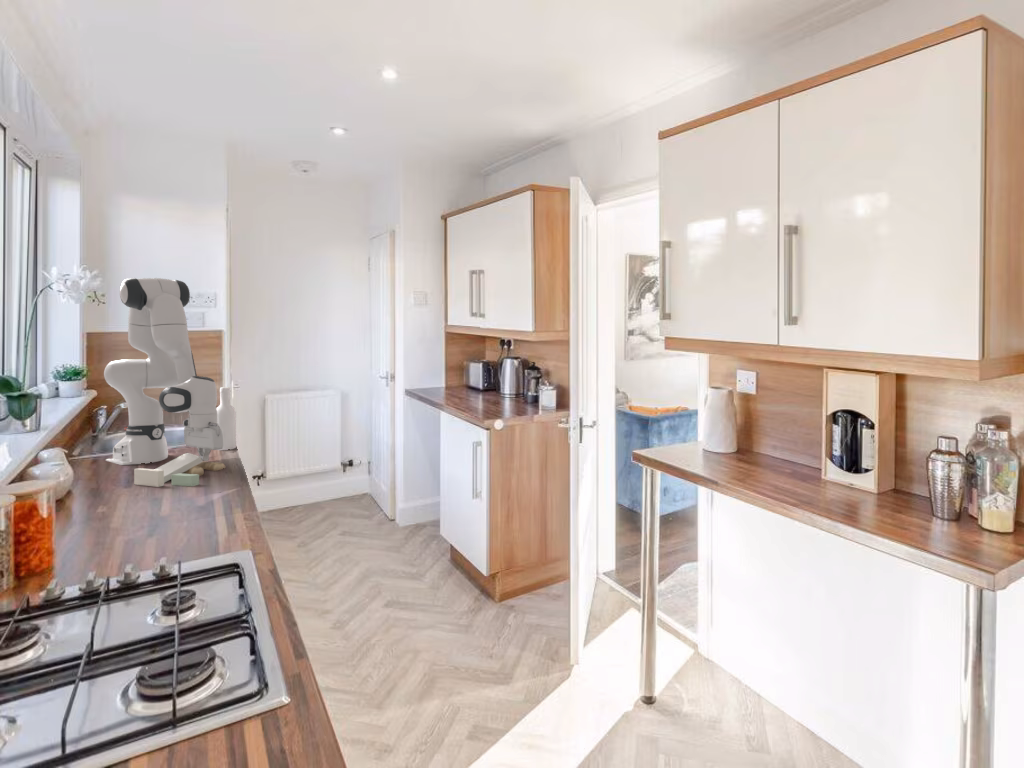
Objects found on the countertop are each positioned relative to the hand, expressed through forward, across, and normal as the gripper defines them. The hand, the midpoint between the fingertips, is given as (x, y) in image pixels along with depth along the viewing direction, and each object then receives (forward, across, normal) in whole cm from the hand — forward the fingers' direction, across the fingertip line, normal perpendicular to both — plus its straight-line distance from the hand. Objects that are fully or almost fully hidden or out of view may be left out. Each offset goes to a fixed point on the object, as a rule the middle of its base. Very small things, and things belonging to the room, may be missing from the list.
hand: (204, 460), depth 208 cm
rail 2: (+5, 0, -2) cm, 5 cm away
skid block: (+5, -14, +13) cm, 20 cm away
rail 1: (+5, -2, +7) cm, 9 cm away
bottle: (+5, +25, -22) cm, 33 cm away
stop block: (+5, -5, +20) cm, 21 cm away
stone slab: (+2, -1, +10) cm, 10 cm away
